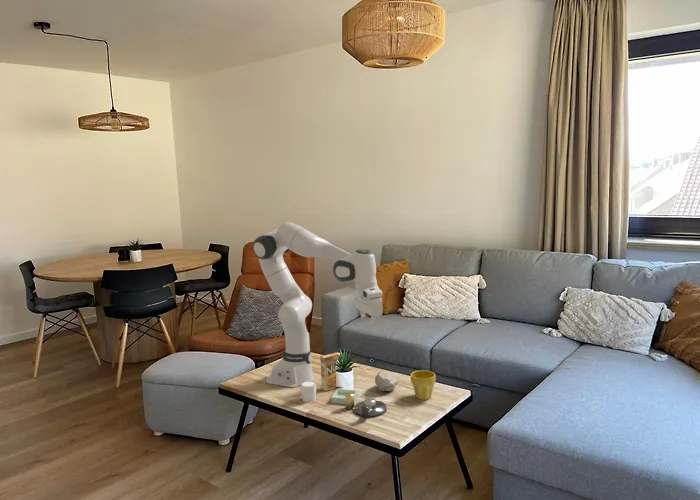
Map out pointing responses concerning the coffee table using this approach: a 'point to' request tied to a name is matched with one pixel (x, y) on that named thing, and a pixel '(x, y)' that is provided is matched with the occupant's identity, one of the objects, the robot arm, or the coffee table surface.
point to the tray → (342, 395)
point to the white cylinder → (308, 391)
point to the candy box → (329, 370)
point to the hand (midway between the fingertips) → (368, 323)
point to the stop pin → (349, 401)
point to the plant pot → (423, 383)
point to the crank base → (375, 412)
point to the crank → (368, 407)
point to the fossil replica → (385, 381)
